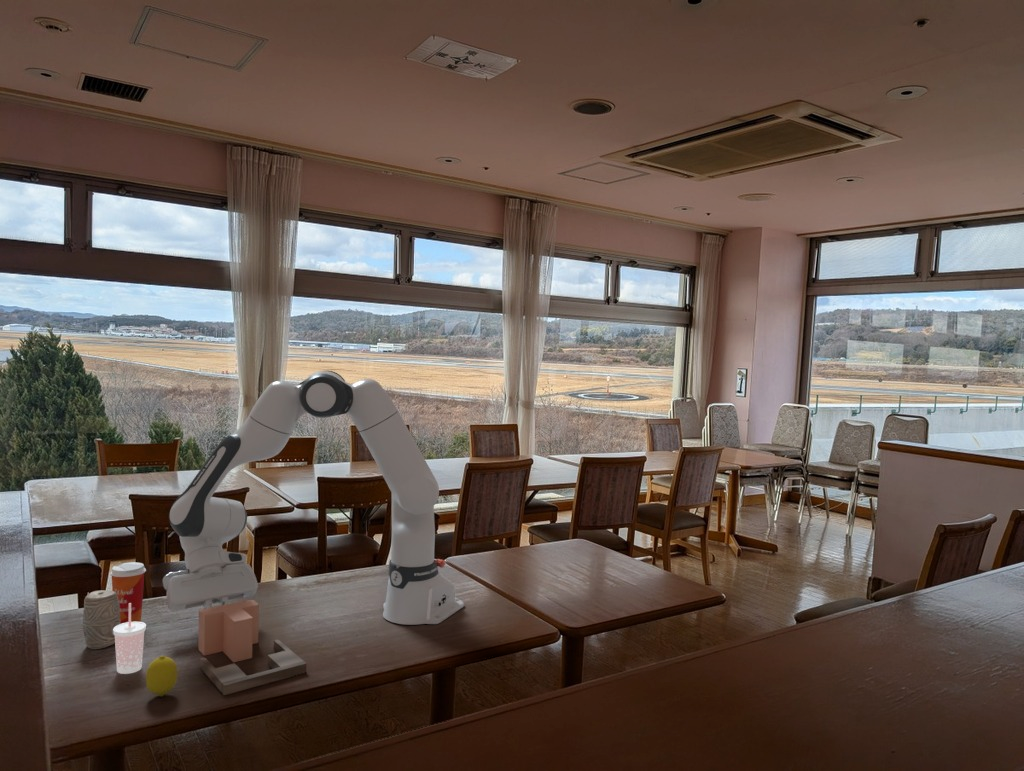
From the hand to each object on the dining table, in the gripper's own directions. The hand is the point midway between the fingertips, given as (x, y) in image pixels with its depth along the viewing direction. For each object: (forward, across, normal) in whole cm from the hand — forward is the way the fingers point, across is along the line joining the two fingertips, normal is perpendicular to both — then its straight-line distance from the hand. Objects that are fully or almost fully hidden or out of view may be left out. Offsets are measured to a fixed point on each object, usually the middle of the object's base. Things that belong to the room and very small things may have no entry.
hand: (219, 618), depth 169 cm
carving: (-4, -22, +10) cm, 25 cm away
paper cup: (-11, -15, +18) cm, 26 cm away
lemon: (+19, -18, -12) cm, 29 cm away
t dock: (+17, 0, -11) cm, 21 cm away
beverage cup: (+7, -20, -1) cm, 22 cm away
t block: (+10, 0, -4) cm, 11 cm away
